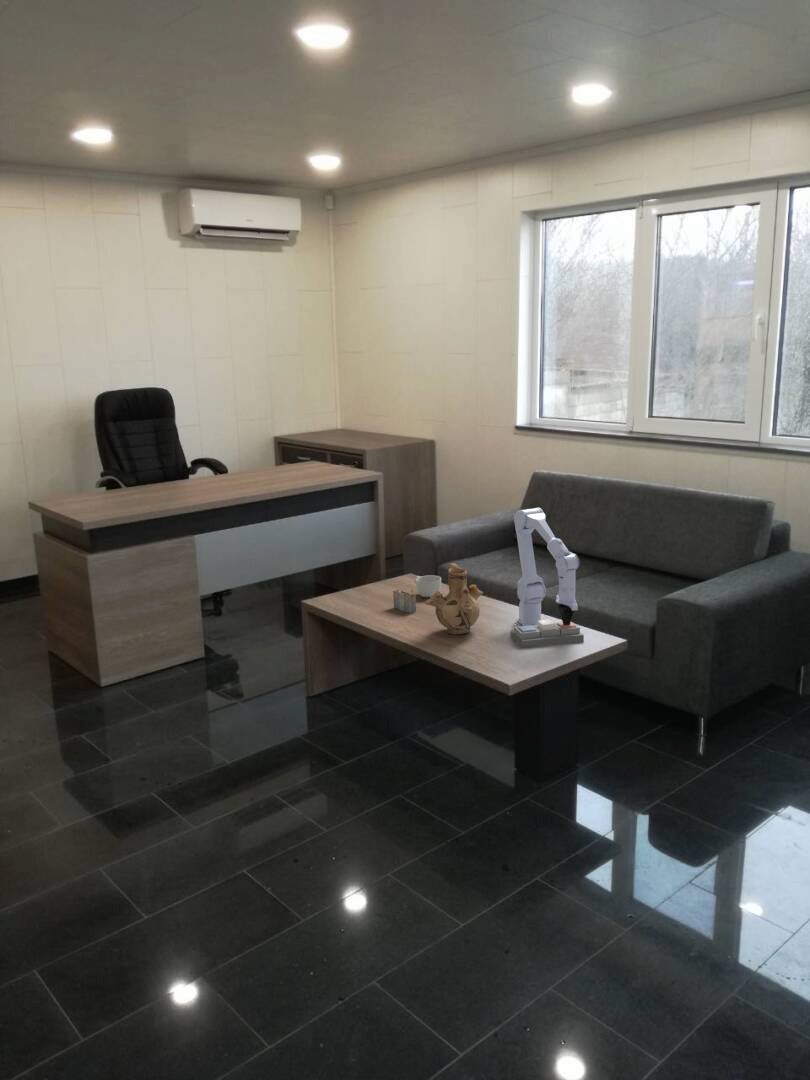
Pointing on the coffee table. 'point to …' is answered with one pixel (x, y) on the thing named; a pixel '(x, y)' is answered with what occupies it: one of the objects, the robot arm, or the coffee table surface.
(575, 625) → the salmon pink key
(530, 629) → the blue key
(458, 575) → the ceramic vessel
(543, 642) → the key panel
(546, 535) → the robot arm
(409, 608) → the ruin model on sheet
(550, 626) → the white key
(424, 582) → the teacup
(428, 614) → the coffee table surface
